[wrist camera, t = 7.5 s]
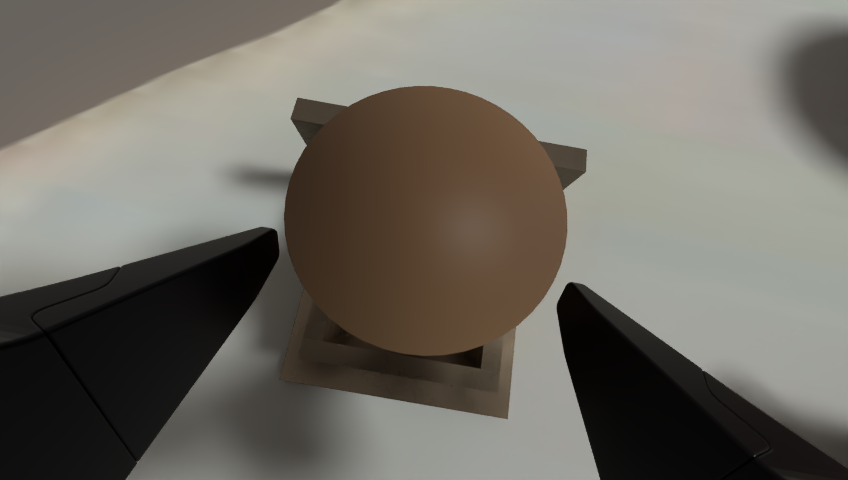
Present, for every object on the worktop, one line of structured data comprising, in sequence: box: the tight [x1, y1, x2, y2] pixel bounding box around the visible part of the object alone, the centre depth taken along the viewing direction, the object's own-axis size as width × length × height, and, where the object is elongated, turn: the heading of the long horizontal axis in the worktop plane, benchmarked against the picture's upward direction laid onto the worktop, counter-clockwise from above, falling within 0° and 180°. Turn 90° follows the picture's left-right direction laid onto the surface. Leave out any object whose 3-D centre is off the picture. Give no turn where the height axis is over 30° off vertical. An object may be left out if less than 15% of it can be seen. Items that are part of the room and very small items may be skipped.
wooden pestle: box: [284, 86, 567, 356], centre depth 11 cm, size 4×4×13 cm
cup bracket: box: [279, 98, 587, 419], centre depth 14 cm, size 12×12×7 cm
